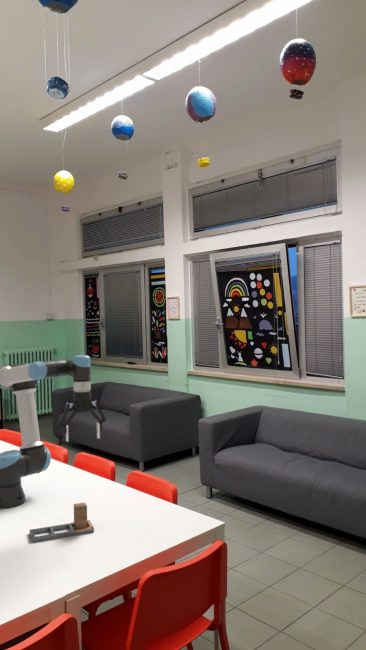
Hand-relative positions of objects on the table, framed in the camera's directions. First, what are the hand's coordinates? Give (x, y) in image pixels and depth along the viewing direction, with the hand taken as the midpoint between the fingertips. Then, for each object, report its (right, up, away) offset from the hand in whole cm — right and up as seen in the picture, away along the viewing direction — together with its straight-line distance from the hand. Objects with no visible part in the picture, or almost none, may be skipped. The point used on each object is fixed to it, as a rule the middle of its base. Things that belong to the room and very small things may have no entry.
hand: (83, 439), depth 221 cm
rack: (-5, -33, -19) cm, 38 cm away
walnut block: (+2, -33, -16) cm, 37 cm away
